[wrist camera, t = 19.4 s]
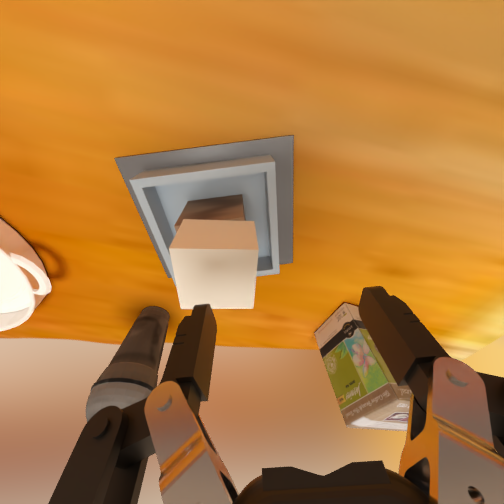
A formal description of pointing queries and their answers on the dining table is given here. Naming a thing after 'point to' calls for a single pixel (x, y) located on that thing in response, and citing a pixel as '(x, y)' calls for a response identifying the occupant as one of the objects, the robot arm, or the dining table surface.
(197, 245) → the cream block
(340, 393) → the tea box
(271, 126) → the dining table surface
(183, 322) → the robot arm
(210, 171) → the grey shallow box
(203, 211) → the walnut block
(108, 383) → the beverage cup
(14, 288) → the pan
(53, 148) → the dining table surface
